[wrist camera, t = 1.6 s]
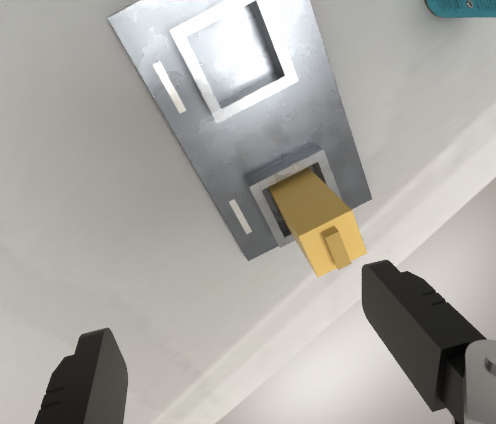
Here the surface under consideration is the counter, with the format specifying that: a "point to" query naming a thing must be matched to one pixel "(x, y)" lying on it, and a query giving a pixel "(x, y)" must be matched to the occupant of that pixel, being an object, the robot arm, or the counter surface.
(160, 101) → the panel
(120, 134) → the counter surface
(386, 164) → the counter surface
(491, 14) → the tube
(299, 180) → the plug
